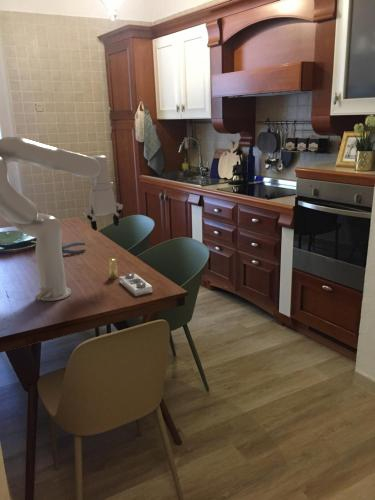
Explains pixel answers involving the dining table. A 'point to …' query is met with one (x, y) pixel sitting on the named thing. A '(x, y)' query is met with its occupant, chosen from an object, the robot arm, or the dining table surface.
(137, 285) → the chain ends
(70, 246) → the pliers
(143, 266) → the dining table surface
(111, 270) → the pin
